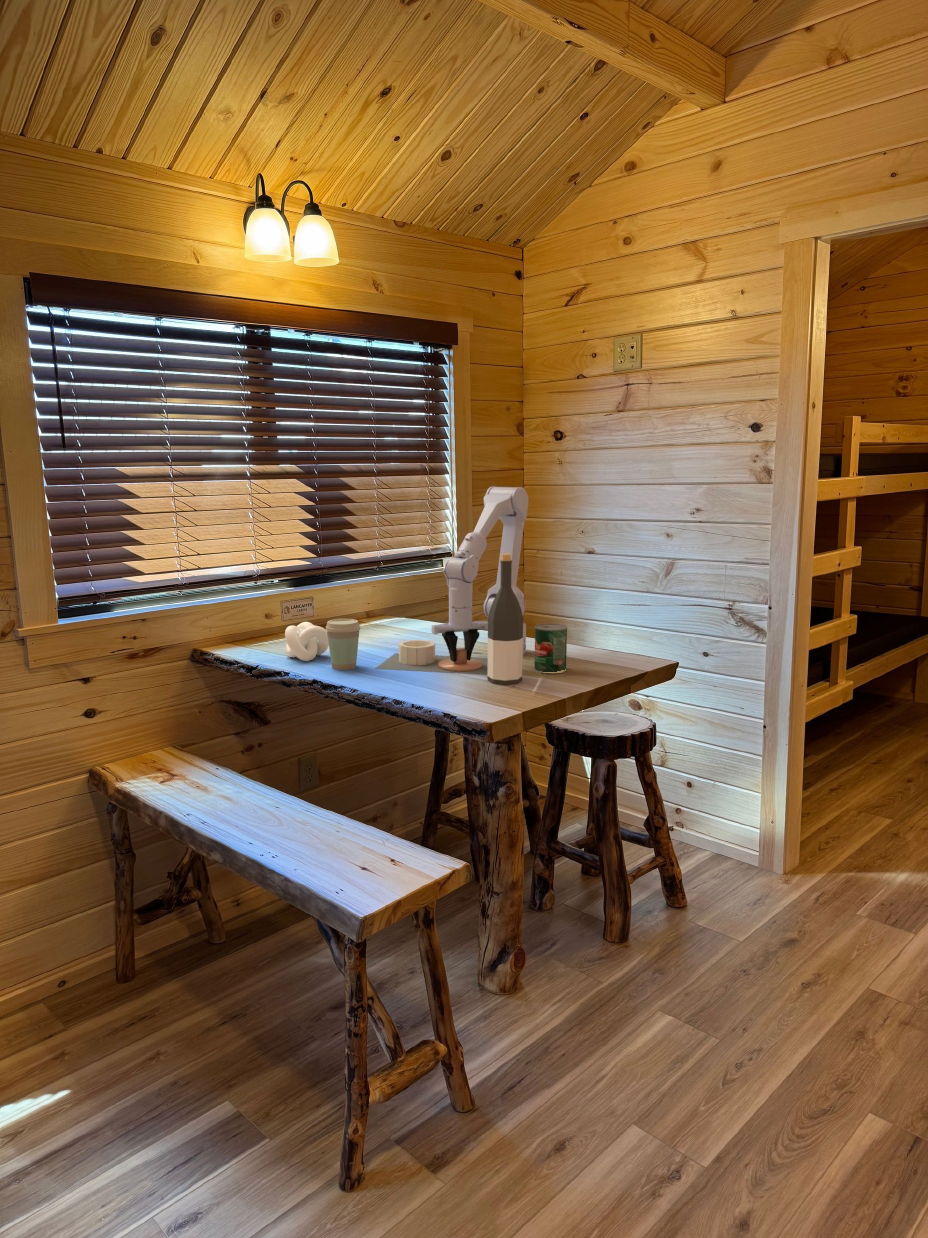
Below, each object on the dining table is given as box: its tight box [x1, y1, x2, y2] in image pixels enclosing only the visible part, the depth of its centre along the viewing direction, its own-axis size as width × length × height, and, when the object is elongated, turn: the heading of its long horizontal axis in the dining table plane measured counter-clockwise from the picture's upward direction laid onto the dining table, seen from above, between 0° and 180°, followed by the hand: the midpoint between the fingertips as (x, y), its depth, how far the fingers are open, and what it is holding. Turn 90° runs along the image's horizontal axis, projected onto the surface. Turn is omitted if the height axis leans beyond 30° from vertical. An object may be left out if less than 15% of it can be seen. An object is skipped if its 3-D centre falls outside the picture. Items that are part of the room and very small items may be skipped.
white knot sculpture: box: [284, 621, 329, 662], centre depth 218 cm, size 11×12×9 cm
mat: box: [375, 652, 488, 676], centre depth 211 cm, size 28×17×1 cm, turn 78°
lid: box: [438, 647, 483, 672], centre depth 208 cm, size 11×11×4 cm
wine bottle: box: [487, 554, 524, 686], centre depth 193 cm, size 8×8×30 cm
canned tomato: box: [534, 622, 568, 673], centre depth 206 cm, size 8×8×11 cm
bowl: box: [398, 639, 436, 665], centre depth 214 cm, size 9×9×4 cm
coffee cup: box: [324, 618, 361, 671], centre depth 207 cm, size 8×9×12 cm
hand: (460, 660), depth 208 cm, fingers closed on lid, 3 cm apart
